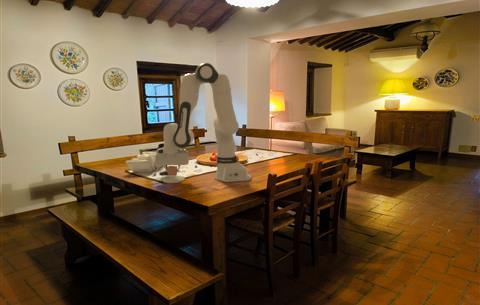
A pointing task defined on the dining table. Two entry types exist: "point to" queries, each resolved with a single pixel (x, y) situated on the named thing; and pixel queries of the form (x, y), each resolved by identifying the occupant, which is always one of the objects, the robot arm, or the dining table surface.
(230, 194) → the dining table surface
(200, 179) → the dining table surface
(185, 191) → the dining table surface
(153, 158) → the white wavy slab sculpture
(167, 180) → the tile
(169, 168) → the orange cube
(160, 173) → the wine glass
